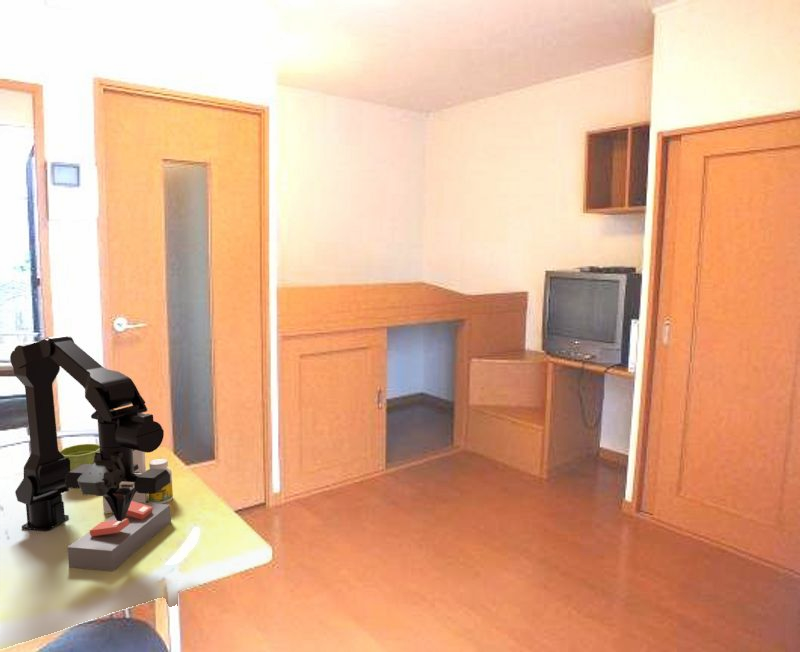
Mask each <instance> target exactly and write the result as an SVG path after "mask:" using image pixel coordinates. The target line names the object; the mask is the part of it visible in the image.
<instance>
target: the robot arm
mask: <svg viewBox="0 0 800 652" xmlns="http://www.w3.org/2000/svg"><path fill="white" fill-rule="evenodd" d="M9 359H10V364H11V366H12V368H13V369H12V370H13V374H14V376H15V377H16V379H18V380H19V382H20V383H21V384H22V385H23V387H24V390H25V401H26V411H27V412H26V413H27V422H28V432H29V441H30V455H29V457H28V459H27V461H26V462H25V464H24V466H23V479H22V480H21V482H20V483H19V484H18V486H17V488H16V489H15V492H14V493H15V496H16V500H17V502H19V503H22V504H24V505H25V508H26V509H25V510H26V511H25V512H26V523H23V524H22V525H21V529H22V530H23V529H24V530H35V531H49V530H51V529H53V528H55V527H56V526H58V525H59V524H61V523H62V522H64V521H66V520H67V519H69V514H65V503H64V501H63V494H64V493H67V492H69V491H70V489H76V490H77V489H80V491H81V494H82V495H83V496H88V495H89V496H96V497H102V498H103V497H104V498H105V499H106V501H107V502H108V504H109V506H110V508H111V510H112V512H113V515H114V516H115V518H116V520H117V521H123V520H124V518H125V516H126V513H127V511H128V508H129V506H130V503H131V501H132V499H133V497H134V495H135V493H136V491H137V492H138V493H144V494H147V495H148V494H154V493H156V492H158V491H159V490H161V489H162V488H163V487H165V486H166V485H168V484H169V483H170V473H169V472H168V471H167V470H166V469H152V468H149V469H146V471H145V472H144V473H142V474H141V473H134V471H136V470H137V469H138V464H134V460H133V451H134V450H138V451H142V452H145V454H146V453H153V452H154V451H156V450H157V449H158V448H159V447H160V446H161V444H162V442H163V440H164V436H165V435H164V434H165V433H164V429H163V427H162V425H161V424H160V423H159V422H158V421H155V420H154V415H153V414H152V413H151V414H150V413H146V412H148V408H147V406H146V401H145V400H144V398H143V396H141V393H140V392H139V390H138V388H137V386H136V384H135V382H134V381H133V380H132V378H130V377H129V376H127V375H125V374H123V373H121V372H120V371H117V370H111V369H108V368H105V367H104V366H102V365H101V363H98V362H97V361H96V360H95V359H94V358H93V357H91V355H89V354H88V353H87V352H86V351H85V350H83V348H81V347H80V346H78V344H76V343H75V341H74V339H73V337H71V336H70V335H66V334H63V335H55V336H49V337H45V338H42V339H41V340H39V341H36V342H34V343H28V344H20V345H17V346H16V347H15V348H14V350H13V351H11V353H10V357H9ZM61 368H62V369H63V370H64V371H65V372H66V373H68V375H69V376H71V378H73V379H74V380H75V381H76V382H77V383H78V384H80V385H81V386H82V388H83V389H84V398H85V399H86V401H87V402H88V403H89V404H90V405H91V407H93V409H94V410H95V411H94V412H93V413H92V414H91V415H90V418H91V419H93V420H97V428H98V429H97V431H98V445H99V451H97V452H95V455H94V463H93V465H92V464H83V465H81V466H79V467H77V468H76V469H74V470H72V471H71V469H70V460H69V458H65V457H64V456H63V455H62V453H61V452H60V451H61V450H59V443H58V433H57V421H56V411H55V410H56V409H55V401H54V400H55V399H54V398H55V397H54V389H53V388H54V387H53V383H54V382H55V380H56V378H57V376H58V374H59V372H60V370H61ZM126 406H127V407H126Z"/></svg>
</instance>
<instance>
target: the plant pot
mask: <svg viewBox="0 0 800 652" xmlns="http://www.w3.org/2000/svg"><path fill="white" fill-rule="evenodd" d="M59 451H60V452H61V453H62V455H63V456H64V457H65V458H69V460H70V469H71V471H72V470H74V469H76V468H77V467H79V466H81V465H83V464H92V465H93V463H94V455H95V452H97V451H99V444H97V443H81V444H75V445H74V444H73V445H71V446H66V447H64V448H63V449H62V448H61V450H59Z"/></svg>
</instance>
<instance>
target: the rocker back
mask: <svg viewBox="0 0 800 652" xmlns="http://www.w3.org/2000/svg"><path fill="white" fill-rule="evenodd" d="M152 509H153V507H152V506H148V505H145V504H141V503H138V502H134V501H131V503H130V506H129V508H128V511H127V513H126V515H127V516H131V517H134V518H138V519H141V520H142V519H144V518H145V517H146V516H148V515H149V514H150V513H152Z"/></svg>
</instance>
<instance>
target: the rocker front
mask: <svg viewBox="0 0 800 652" xmlns="http://www.w3.org/2000/svg"><path fill="white" fill-rule="evenodd" d="M129 524H130V523H129V519H128V518H127V519H124V520H123V521H117V520H113V521H106V522H104V521H100V522H99V523H98V524H97V525H95V526H94V527H92V528H91V529H89V530H88V531H89V532H90V535H91V536H98V535H105V534H112V533H118V532H120V531H121V530H122V529H124V528H125V527H126V526H128V525H129Z"/></svg>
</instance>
